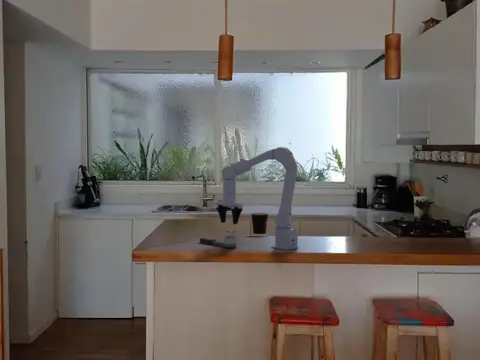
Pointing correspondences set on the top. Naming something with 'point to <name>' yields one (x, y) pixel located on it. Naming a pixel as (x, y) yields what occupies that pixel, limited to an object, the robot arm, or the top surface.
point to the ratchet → (217, 243)
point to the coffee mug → (259, 222)
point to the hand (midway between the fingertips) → (229, 223)
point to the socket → (230, 237)
